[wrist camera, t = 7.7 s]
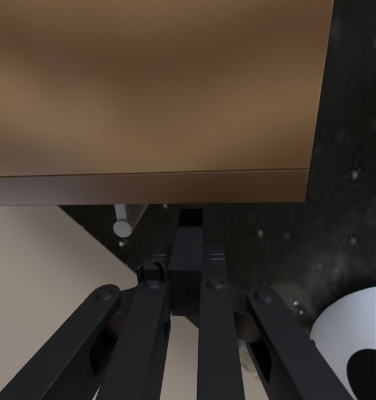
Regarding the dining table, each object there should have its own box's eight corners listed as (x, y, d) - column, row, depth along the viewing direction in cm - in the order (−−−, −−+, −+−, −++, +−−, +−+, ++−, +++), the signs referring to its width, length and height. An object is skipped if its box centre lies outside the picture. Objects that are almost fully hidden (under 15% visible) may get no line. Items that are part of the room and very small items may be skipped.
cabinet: (39, 9, 21) (-184, -121, 9) (266, -11, 19) (365, -207, 7) (73, 161, 26) (-41, 206, 14) (256, 155, 24) (304, 202, 12)
